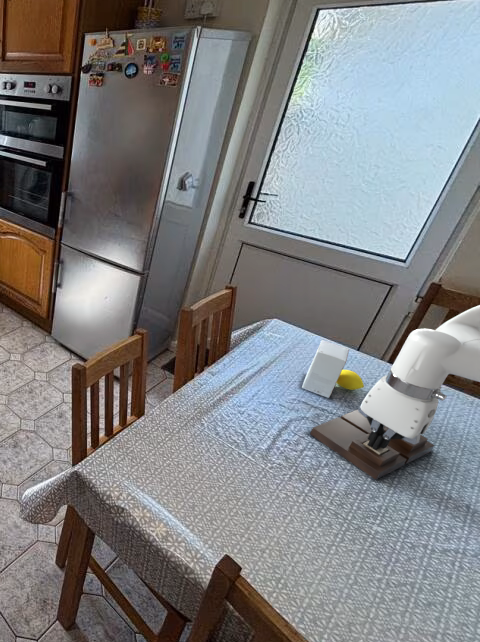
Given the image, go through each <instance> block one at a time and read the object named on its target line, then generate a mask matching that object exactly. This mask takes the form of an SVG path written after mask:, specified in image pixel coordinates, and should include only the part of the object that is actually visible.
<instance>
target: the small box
mask: <svg viewBox="0 0 480 642" xmlns="http://www.w3.org/2000/svg"><path fill="white" fill-rule="evenodd" d="M349 353H350V348H348V347H345V346H342V345H339V344H336V343H333V342H330V341H326V340H323V339H322V340H321V341H320V343H319V346H318V348H317V350H316V352H315V354H314V357H313V358H312V361H311V363H310V366H309V368H308V370H307V372H306V375H305V376H304V377H305V378H304V379H303V383H302V386H301V388H302V389H304V390H306V391H309V392H311V393H314V394H317V395H319V396H322V397H325V398H327V399H330V397H331V395H332V393H333V391H334V389H335V386H336V385H337V383H336V382H337V380H338V378H339V376H340V374H341V372H342V370H344V368H345V365H346V363H347V361H348V356H349Z"/></svg>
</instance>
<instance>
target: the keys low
mask: <svg viewBox="0 0 480 642" xmlns="http://www.w3.org/2000/svg"><path fill="white" fill-rule="evenodd" d="M358 409H359V408H358ZM358 409H355V410H353V411H350V412H348V413H345V414H343V415H341V416H340V418H341V419H343V420H345V421H346V422H348V423H349V424H351V425H353V426H354V427H356V428H357V429H359V430H361V431H362V432H364V433H365V434H370V433H371V431H372V430H371V429H370V427H371V426H370V424H369V422H368V420H367V418H365V417H364V416H363V415H362V414H361V413H359V412H358ZM388 429H389V428H388V427H387V426H385V427H384V430H385V432H386V431H387V430H388ZM388 446H389V447H391V448H393V449H394V450H396V451H397V452H399V453H400V454H399V455H401V456H402V457H404V458H406V459H407V460H406V461H405V463H404V465H407V464H409V463H412V462H413V461H415V460H417V459H419V458H421V457H423V456H425V455H427V454H429V453H431V451H433V449H434V447H435V444H433V443H431V442H430V441H429V439H428V438H427V437H425V436H424V435H421V434H420V441H419V443H417V444H411V443H409V442H406V441H404V440H402V439H391V441H390V442H389V444H388Z"/></svg>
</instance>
